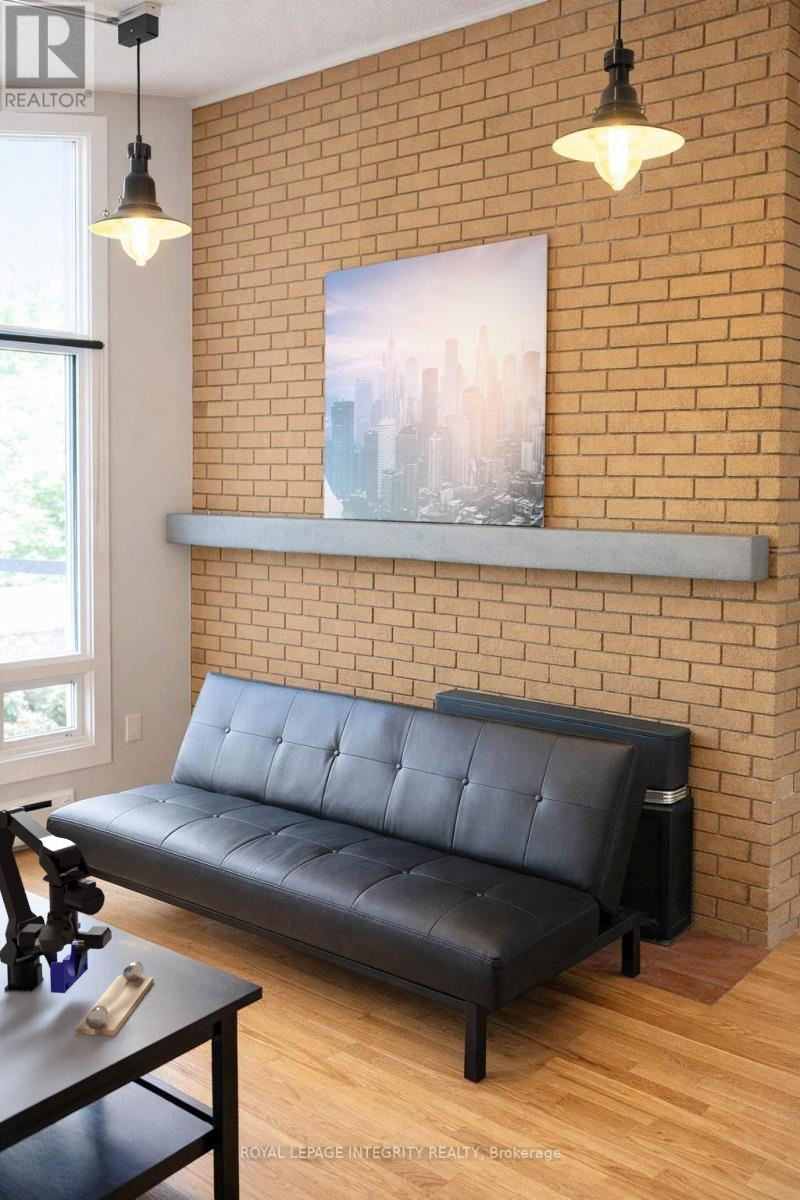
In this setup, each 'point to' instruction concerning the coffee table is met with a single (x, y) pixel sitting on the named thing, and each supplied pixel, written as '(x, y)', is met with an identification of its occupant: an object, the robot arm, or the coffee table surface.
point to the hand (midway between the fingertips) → (65, 975)
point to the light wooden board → (117, 1004)
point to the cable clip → (66, 972)
